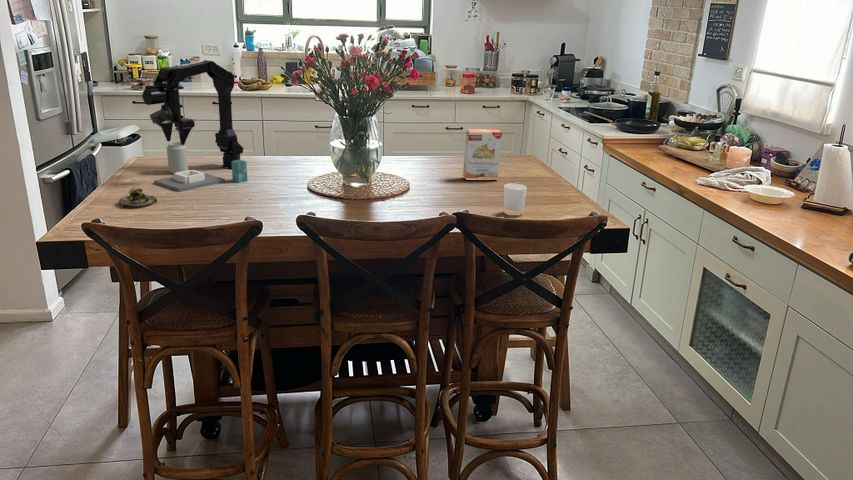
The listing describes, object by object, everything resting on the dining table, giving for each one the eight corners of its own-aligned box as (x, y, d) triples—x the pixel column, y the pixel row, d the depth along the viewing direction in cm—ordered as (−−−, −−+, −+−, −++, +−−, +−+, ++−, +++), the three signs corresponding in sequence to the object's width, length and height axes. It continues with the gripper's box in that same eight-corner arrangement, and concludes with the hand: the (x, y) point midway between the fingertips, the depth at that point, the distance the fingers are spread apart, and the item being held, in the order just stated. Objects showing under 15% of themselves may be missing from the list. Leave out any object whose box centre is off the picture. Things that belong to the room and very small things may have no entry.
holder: (199, 174, 266) (198, 165, 265) (224, 181, 257) (224, 172, 256) (154, 183, 251) (153, 174, 250) (179, 191, 242) (178, 182, 241)
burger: (119, 211, 219) (116, 189, 217) (119, 201, 230) (116, 180, 227) (158, 208, 224) (155, 186, 222) (156, 198, 234) (154, 178, 232)
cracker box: (465, 181, 274) (468, 131, 267) (462, 177, 280) (465, 128, 273) (498, 181, 277) (502, 131, 269) (494, 177, 282) (498, 129, 275)
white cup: (500, 210, 238) (502, 183, 235) (521, 210, 239) (524, 183, 236) (504, 216, 231) (506, 189, 228) (526, 217, 232) (529, 189, 228)
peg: (240, 179, 262) (239, 159, 259) (247, 181, 260) (246, 161, 257) (232, 181, 259) (231, 161, 256) (239, 183, 257) (238, 162, 254)
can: (191, 170, 271) (189, 141, 267) (183, 175, 264) (181, 145, 260) (174, 169, 271) (171, 140, 267) (165, 174, 264) (162, 144, 260)
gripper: (138, 101, 247) (142, 142, 253) (166, 107, 237) (170, 150, 242) (164, 98, 256) (168, 138, 261) (193, 104, 245) (197, 145, 251)
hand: (175, 143), depth 253 cm, fingers open, 9 cm apart
